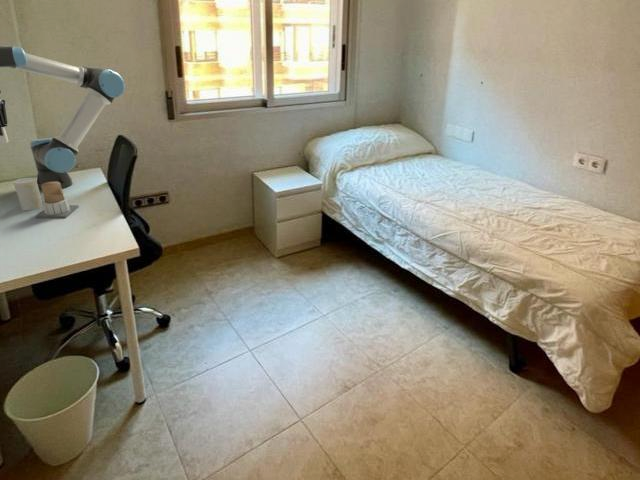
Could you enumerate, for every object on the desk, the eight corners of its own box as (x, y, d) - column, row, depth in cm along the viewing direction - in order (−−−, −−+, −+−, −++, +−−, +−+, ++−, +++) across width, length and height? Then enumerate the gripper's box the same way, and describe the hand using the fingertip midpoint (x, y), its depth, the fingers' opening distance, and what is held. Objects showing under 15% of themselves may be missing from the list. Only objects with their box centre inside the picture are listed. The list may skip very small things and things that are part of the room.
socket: (50, 207, 190) (47, 195, 188) (78, 207, 191) (75, 195, 188) (35, 218, 179) (32, 205, 177) (65, 217, 180) (62, 205, 177)
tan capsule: (52, 206, 187) (46, 181, 182) (69, 206, 188) (63, 181, 183) (44, 212, 181) (37, 187, 176) (61, 212, 181) (55, 186, 177)
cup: (33, 211, 186) (25, 184, 181) (16, 209, 188) (8, 182, 182) (47, 204, 193) (40, 178, 188) (31, 202, 195) (24, 176, 190)
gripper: (-13, 82, 180) (4, 139, 190) (-34, 85, 169) (-15, 146, 179) (6, 82, 181) (22, 139, 191) (-14, 85, 169) (4, 146, 179)
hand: (4, 142), depth 185 cm, fingers closed
